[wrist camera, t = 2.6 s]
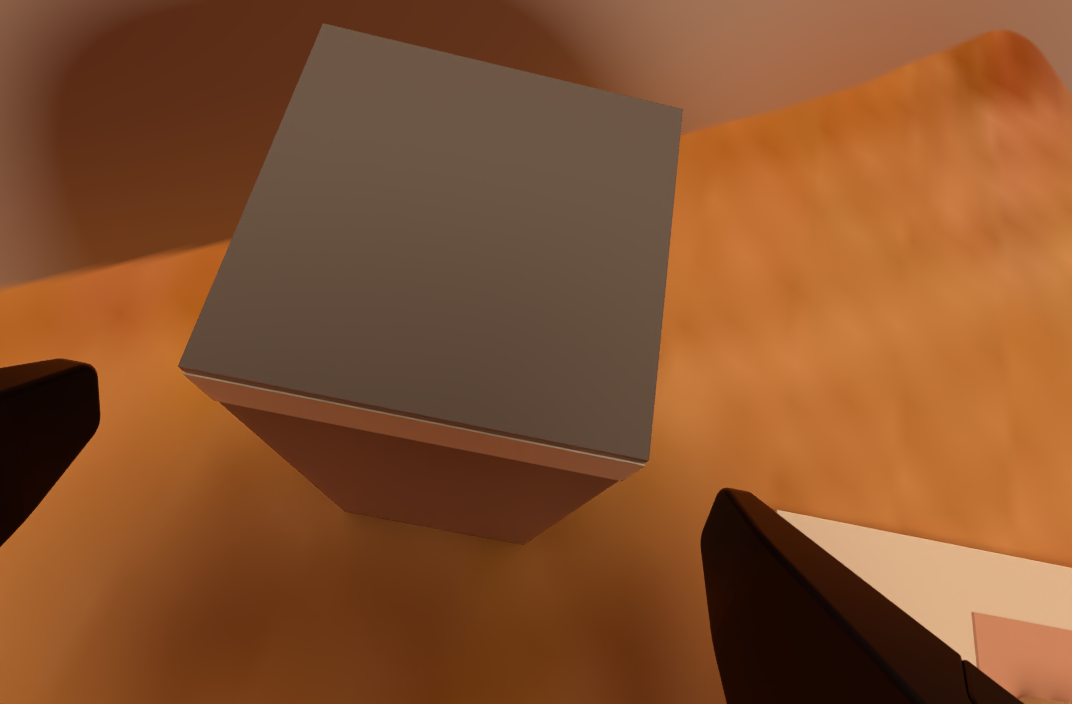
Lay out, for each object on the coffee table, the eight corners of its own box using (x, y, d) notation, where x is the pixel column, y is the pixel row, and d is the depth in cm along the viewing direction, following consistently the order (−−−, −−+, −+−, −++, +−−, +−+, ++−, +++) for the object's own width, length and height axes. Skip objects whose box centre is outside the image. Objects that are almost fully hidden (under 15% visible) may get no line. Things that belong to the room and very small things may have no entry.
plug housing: (523, 545, 18) (650, 462, 7) (343, 511, 18) (175, 367, 7) (551, 378, 20) (683, 108, 9) (390, 346, 20) (321, 22, 9)
